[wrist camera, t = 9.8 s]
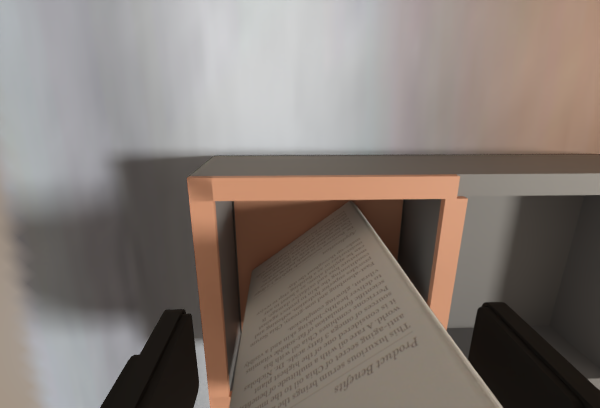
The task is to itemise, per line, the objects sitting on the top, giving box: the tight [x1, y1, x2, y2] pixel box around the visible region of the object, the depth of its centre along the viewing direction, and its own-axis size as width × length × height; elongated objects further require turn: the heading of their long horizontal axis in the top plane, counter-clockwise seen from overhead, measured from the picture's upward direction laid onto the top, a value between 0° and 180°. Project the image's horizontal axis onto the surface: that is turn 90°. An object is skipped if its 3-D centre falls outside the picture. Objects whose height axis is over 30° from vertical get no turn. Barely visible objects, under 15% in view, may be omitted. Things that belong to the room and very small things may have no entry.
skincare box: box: [229, 201, 503, 408], centre depth 11 cm, size 6×4×12 cm
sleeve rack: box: [187, 154, 600, 408], centre depth 15 cm, size 18×10×4 cm, turn 90°
